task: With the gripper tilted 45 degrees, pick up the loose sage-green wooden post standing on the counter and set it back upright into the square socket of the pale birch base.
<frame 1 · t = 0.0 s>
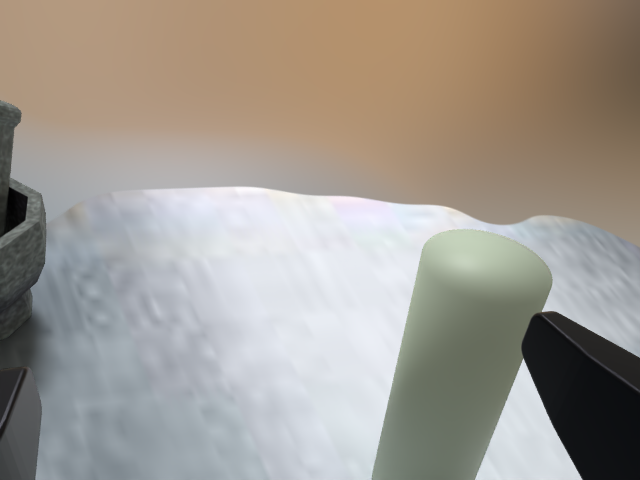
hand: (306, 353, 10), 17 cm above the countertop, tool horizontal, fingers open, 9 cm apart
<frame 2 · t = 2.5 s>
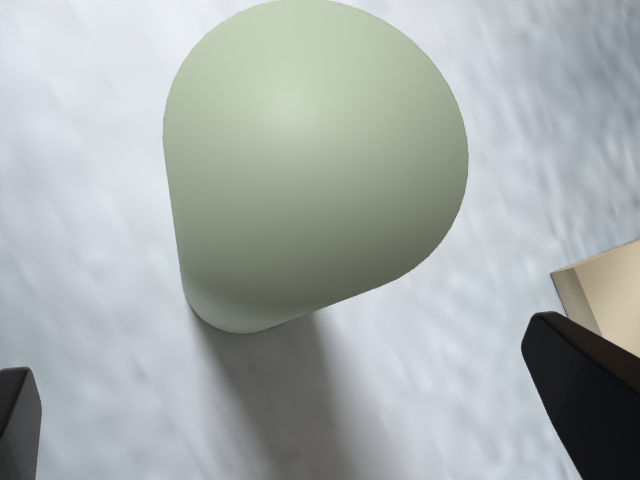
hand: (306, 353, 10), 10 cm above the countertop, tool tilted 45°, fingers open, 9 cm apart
post: (243, 272, 20), on the countertop
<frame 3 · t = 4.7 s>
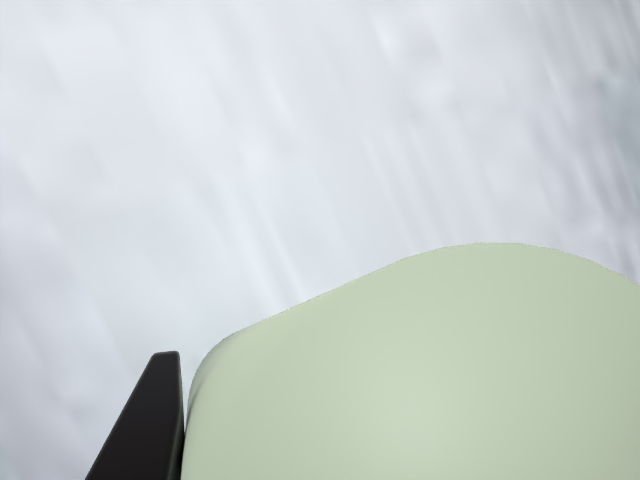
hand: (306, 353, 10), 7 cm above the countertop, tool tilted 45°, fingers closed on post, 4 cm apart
post: (266, 402, 16), on the countertop, touching gripper
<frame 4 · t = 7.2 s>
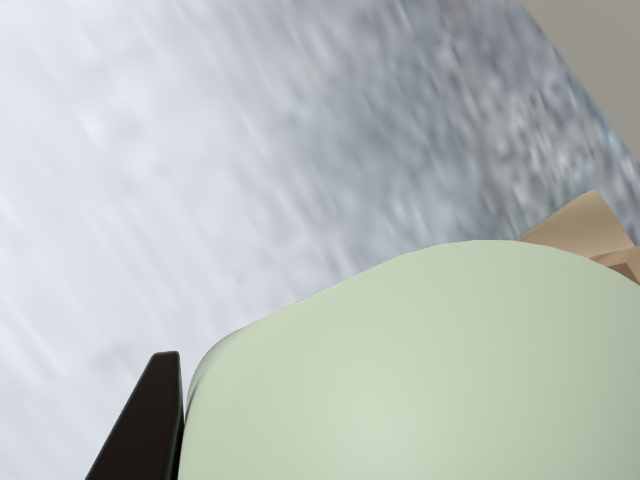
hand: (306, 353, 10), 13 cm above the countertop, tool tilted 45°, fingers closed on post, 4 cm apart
socket base: (557, 398, 25), on the countertop
post: (265, 402, 16), point 7 cm above the countertop, touching gripper
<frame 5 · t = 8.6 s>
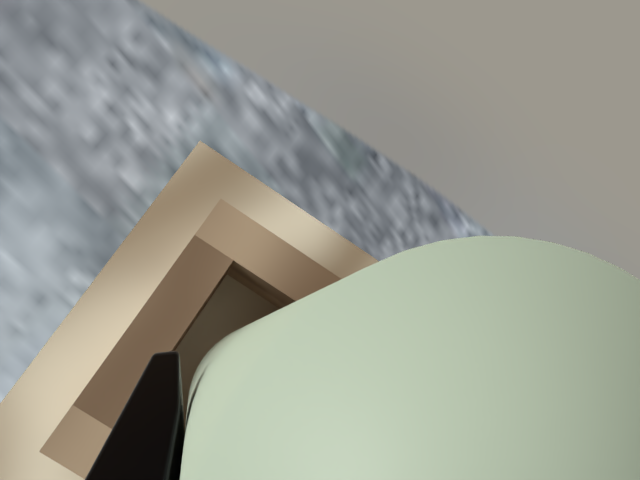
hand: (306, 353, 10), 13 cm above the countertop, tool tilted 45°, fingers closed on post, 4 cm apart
socket base: (246, 385, 22), on the countertop
post: (266, 401, 16), point 7 cm above the countertop, touching gripper
when the fingers open (10 cm above the countertop, at t = 9.6 s): post drops 2 cm, resting on socket base.
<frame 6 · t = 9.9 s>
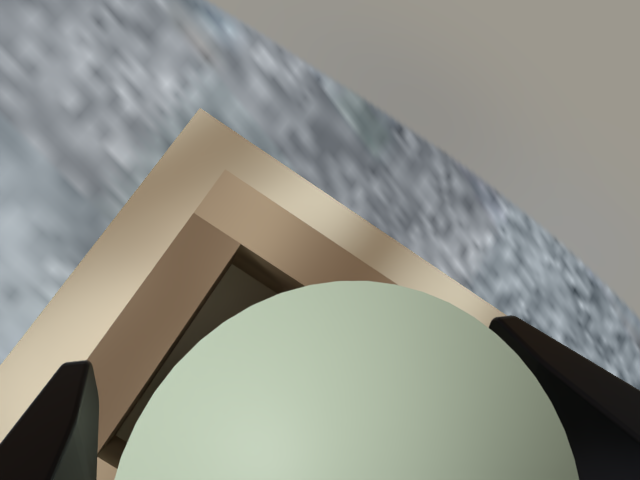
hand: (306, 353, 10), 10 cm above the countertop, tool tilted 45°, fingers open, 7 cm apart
socket base: (254, 394, 19), on the countertop
post: (258, 399, 18), point 2 cm above the countertop, touching socket base
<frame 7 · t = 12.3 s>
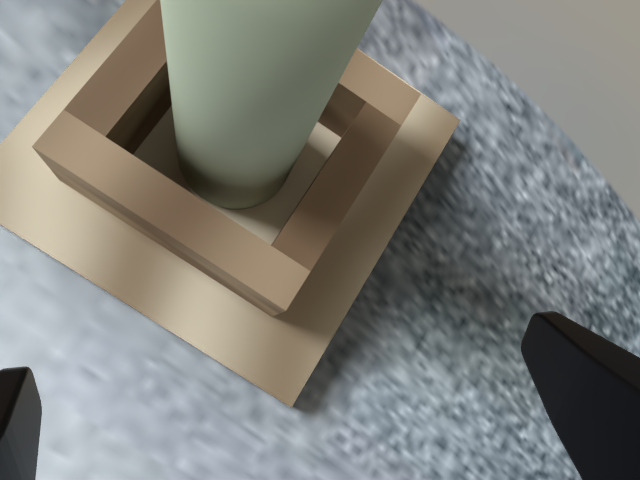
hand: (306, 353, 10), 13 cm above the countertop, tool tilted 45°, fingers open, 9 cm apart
socket base: (233, 165, 23), on the countertop
post: (235, 154, 22), point 2 cm above the countertop, touching socket base
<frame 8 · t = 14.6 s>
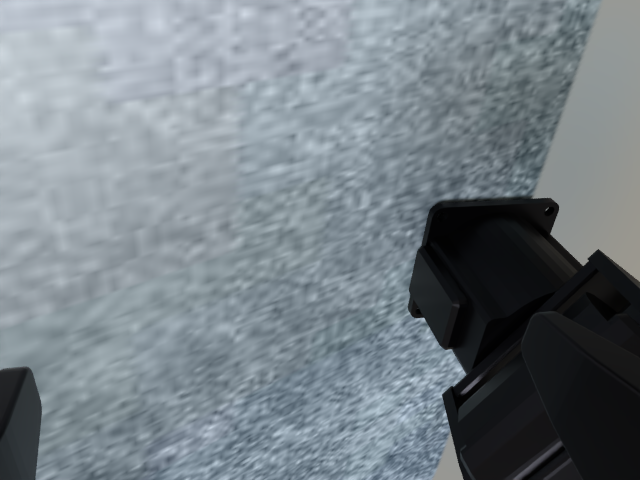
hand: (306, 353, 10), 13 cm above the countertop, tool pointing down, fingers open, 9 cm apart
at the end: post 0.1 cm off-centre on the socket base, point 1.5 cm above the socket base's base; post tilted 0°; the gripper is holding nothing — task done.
